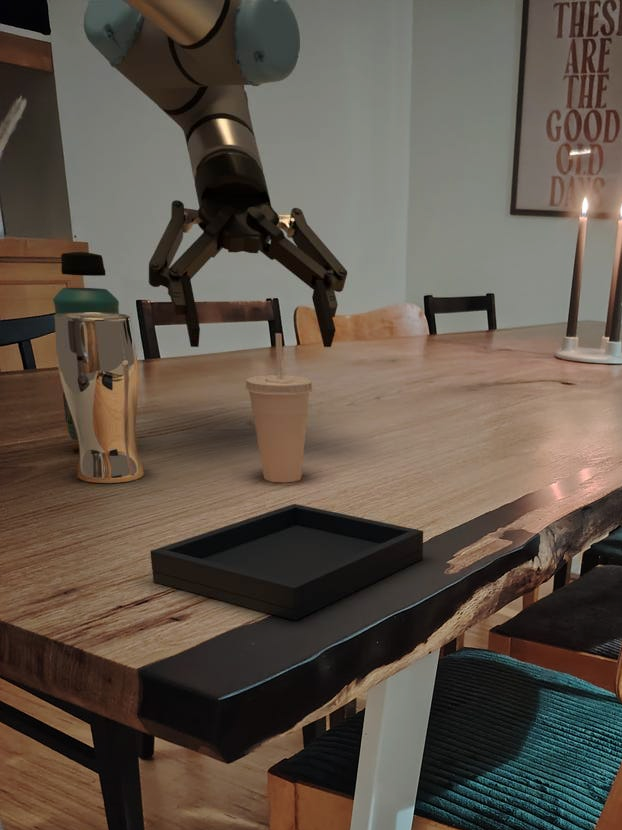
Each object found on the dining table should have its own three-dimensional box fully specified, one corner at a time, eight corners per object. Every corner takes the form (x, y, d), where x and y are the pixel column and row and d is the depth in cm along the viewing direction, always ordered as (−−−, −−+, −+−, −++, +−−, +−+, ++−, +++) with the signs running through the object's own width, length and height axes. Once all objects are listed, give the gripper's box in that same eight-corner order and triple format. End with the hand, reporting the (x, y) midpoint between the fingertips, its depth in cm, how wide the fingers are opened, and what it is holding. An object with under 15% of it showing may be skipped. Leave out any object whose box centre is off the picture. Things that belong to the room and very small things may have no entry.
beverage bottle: (60, 447, 101) (34, 249, 93) (120, 441, 105) (99, 251, 97) (84, 459, 97) (58, 252, 89) (145, 452, 101) (126, 254, 93)
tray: (295, 621, 59) (294, 587, 59) (153, 582, 65) (149, 550, 64) (422, 558, 72) (423, 530, 71) (295, 530, 77) (294, 503, 77)
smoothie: (257, 487, 90) (249, 336, 84) (244, 472, 95) (236, 329, 89) (322, 483, 92) (318, 336, 86) (305, 469, 97) (302, 329, 92)
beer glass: (153, 468, 95) (138, 313, 89) (142, 484, 88) (126, 319, 82) (81, 467, 93) (61, 310, 87) (65, 484, 87) (42, 317, 81)
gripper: (335, 212, 108) (373, 361, 102) (107, 198, 99) (134, 362, 92) (347, 159, 102) (389, 314, 95) (105, 139, 92) (134, 310, 86)
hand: (264, 338), depth 94 cm, fingers open, 13 cm apart
